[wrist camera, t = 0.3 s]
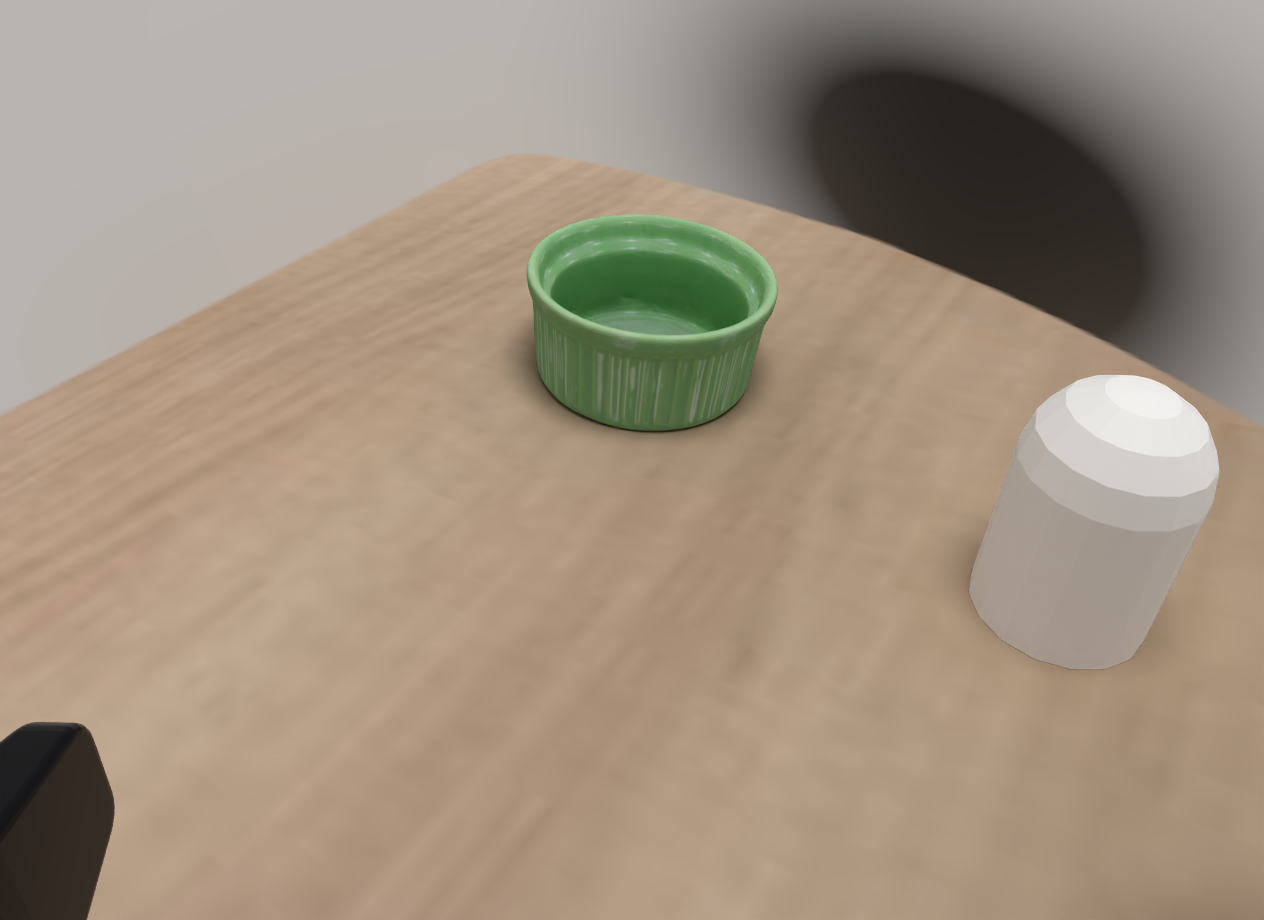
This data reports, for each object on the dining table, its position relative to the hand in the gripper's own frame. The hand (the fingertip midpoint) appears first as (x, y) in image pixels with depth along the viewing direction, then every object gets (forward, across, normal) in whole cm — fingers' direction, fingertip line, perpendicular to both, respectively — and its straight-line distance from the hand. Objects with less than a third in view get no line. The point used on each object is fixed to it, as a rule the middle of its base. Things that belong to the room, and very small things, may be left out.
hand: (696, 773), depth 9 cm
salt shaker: (+22, -12, +17) cm, 30 cm away
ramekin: (+33, 0, +16) cm, 36 cm away
